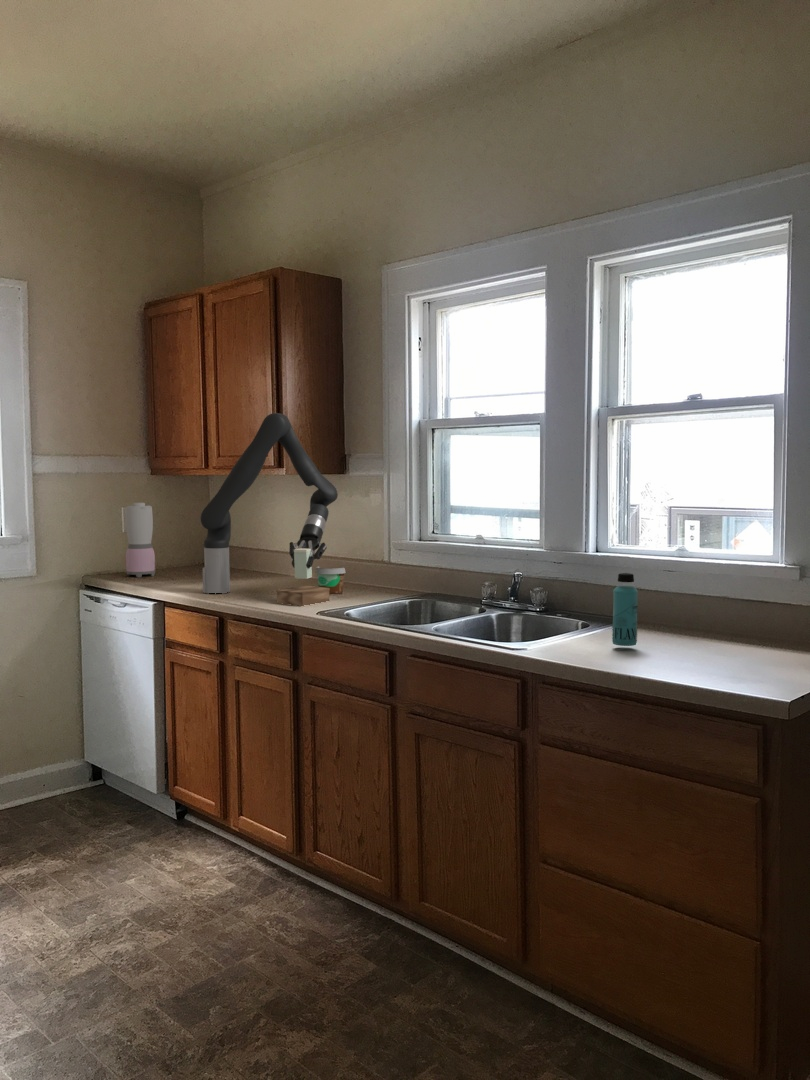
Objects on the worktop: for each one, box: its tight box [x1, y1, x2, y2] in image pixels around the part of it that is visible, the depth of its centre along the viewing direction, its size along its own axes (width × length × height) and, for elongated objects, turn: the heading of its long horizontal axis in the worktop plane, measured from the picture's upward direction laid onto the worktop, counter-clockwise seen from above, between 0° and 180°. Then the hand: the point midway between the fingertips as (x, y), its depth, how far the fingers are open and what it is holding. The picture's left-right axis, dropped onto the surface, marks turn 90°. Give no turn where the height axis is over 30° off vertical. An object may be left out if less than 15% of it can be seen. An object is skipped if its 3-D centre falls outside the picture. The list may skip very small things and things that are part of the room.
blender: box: [125, 502, 156, 578], centre depth 389 cm, size 16×12×32 cm
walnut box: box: [276, 584, 330, 607], centre depth 312 cm, size 12×14×5 cm
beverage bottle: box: [611, 572, 639, 647], centre depth 231 cm, size 6×7×20 cm
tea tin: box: [294, 548, 313, 580], centre depth 311 cm, size 5×5×10 cm
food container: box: [315, 566, 347, 595], centre depth 331 cm, size 12×6×10 cm, turn 62°
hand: (301, 566), depth 309 cm, fingers closed on tea tin, 4 cm apart
